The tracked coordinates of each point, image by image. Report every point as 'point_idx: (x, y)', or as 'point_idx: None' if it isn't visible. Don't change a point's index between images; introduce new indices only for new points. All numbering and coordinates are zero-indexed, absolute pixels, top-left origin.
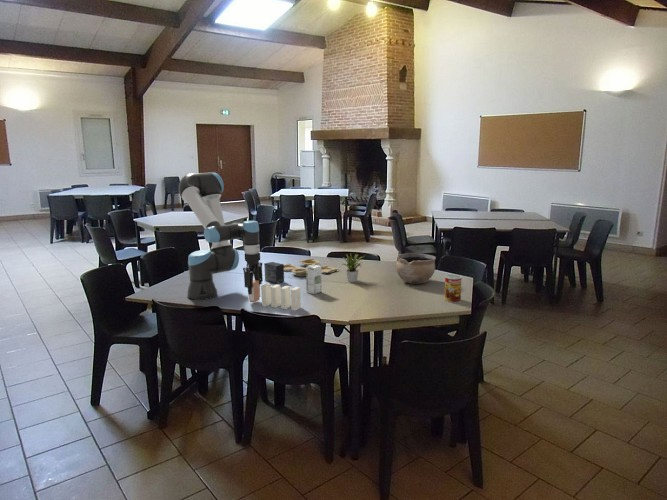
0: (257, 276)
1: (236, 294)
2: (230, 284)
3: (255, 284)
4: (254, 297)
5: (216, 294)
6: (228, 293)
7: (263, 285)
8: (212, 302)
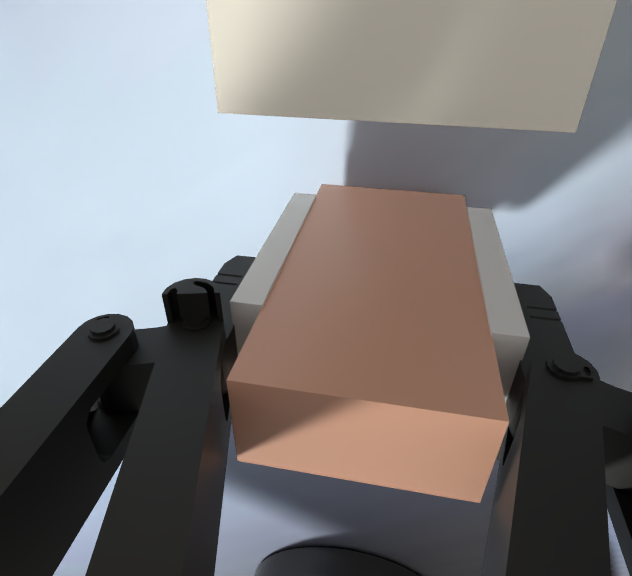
0: (198, 497)
1: (228, 453)
2: (78, 534)
3: (392, 354)
4: (451, 224)
5: (315, 553)
6: (236, 500)
7: (495, 74)
8: (483, 529)
